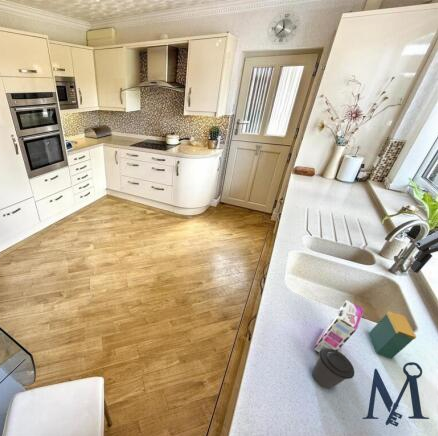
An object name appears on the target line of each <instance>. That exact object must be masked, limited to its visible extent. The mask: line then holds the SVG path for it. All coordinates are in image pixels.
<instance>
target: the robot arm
mask: <svg viewBox="0 0 438 436" xmlns="http://www.w3.org/2000/svg"><path fill="white" fill-rule="evenodd" d="M413 246H414V247H415V248H416V249H417V250H418V252H416V254H415V255H414V256H413V259H414V261H413V262H412V264H410V265H409V268H410V269H411V270H412V271H413V273H415V274H418V273H419V272H420V271H421V270H422V269H423V268H424V266H425V265H426V264H427V263H428V262H429V261H430V259H432V258H433V255H432V254H434V253H437V252H438V230H437V231H436V232H435V231H434V232H433V233H431V234H429V235H427V236H425V237H424V238H422V239H419V240H417V241H415V242H414V243H413Z"/></svg>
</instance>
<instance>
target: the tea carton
mask: <svg viewBox="0 0 438 436" xmlns="http://www.w3.org/2000/svg"><path fill="white" fill-rule="evenodd" d="M368 336H369V338H370V341H371V343H372V346H373V348H374V350H375V353H376V354H377V355H380V356H383V357H385V358H388V359H390V360H392V359H394V357H396V356H397V355H398V354H399V353H400V352H401V351H402V350H403V349H405V348H406V347H407V346H408V345H409V344H410V343H411V342H412V341H413V340H416V339H417V335H416V334H415V332H414V330H413V328H412V327H411V325H410V323H409V322H408V320H407V317H406V316H405V315H402V314H399V313H395V312H392V311H390V310H388V311H387V312H386V314H385V315H384V316H383V317H382V318H381V319H380V320H379V321H378V322H377V323H376V325H375V326H374V327H372V329H371V330H370V331H369V332H368Z"/></svg>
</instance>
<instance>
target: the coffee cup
mask: <svg viewBox="0 0 438 436" xmlns="http://www.w3.org/2000/svg"><path fill="white" fill-rule="evenodd" d="M311 376H312V379H313V380H314V382H315V383H316V384H317V385H318V386H319V387H321V388H323V389H327V390H329V389H332V388H334V387H335V386H338V385H339V384H341V383H342V382H343V381H345V380H349V379H353V378H354V377H355V368H354V365H353V364H352V362H351V361H350V359H349V358H348V357H347V356H346V355H344V354H343V353H341V352H340V351H339V350H338V351H336V350H334V349H330V348H325V349H322V350H321V351H320V354H319V356H318V359H317V361H316V363H315V366H314V367H313V369H312V371H311Z"/></svg>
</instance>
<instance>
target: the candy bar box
mask: <svg viewBox="0 0 438 436" xmlns="http://www.w3.org/2000/svg"><path fill="white" fill-rule="evenodd" d="M364 311H365V309H364V308H362V307H361V306H359V305H356V304H354V303H353V302H352V301H349V300H347V299H346V300H345V301H344V302H343V304H342V305H341V306H340V308H339V309H338V310H337V312H336V313H335V314H334V315H333V317H332V318H331V320H330V321H329V322H328V323H327V325H326V326H325V327H324V329H322V332H321V333H320V335H319V337H318V339H317V341H316V343H315V344H314V346H313V348H312V349H313V351H314V352H316V353H318V354H319V355H320V351H321V350H322V349H325V348H330V349H334V350H336V351H338V352H339V350H340V349H341V348H342V347H343V345H344V344H345V343H346V342H347V341H348V340H349V339H350V338H351V337H352V336H353V335H354V333H356V331H357V330H358V327H359V324H360V322H361V319H362V317H363V314H364Z"/></svg>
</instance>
